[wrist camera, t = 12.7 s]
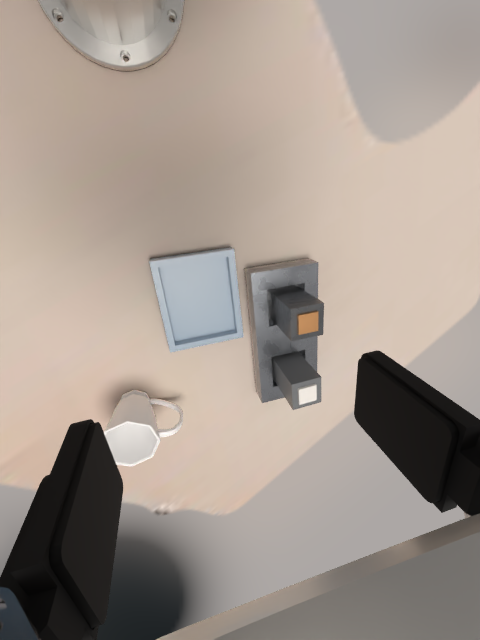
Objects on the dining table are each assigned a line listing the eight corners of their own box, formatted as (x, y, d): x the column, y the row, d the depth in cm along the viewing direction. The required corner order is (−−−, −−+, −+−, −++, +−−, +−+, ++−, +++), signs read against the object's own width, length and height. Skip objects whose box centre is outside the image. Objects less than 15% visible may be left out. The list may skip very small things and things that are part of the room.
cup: (105, 384, 39) (93, 425, 32) (180, 377, 42) (184, 414, 34) (111, 424, 42) (101, 471, 34) (181, 416, 44) (185, 458, 37)
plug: (269, 353, 43) (292, 386, 35) (294, 347, 43) (322, 378, 36) (271, 375, 44) (293, 411, 37) (295, 369, 45) (322, 403, 38)
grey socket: (244, 268, 38) (268, 287, 29) (307, 258, 39) (346, 273, 31) (256, 391, 46) (277, 433, 38) (308, 378, 48) (339, 416, 39)
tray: (149, 258, 34) (149, 261, 33) (230, 246, 36) (234, 249, 35) (169, 346, 39) (170, 352, 38) (240, 331, 41) (243, 337, 39)
